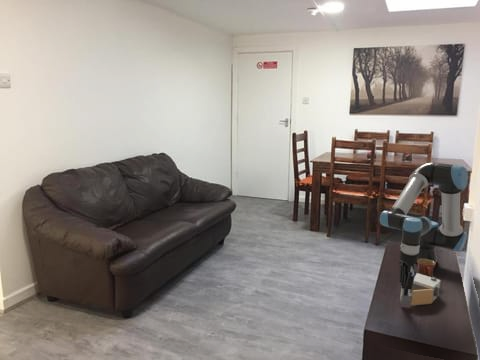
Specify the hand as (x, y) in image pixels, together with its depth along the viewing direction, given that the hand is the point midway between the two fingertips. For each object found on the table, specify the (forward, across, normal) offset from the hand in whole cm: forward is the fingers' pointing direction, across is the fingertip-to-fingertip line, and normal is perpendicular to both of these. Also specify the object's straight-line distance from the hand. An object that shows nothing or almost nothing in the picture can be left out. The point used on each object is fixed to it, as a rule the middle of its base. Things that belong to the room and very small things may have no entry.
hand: (403, 300), depth 181 cm
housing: (+2, -10, +14) cm, 17 cm away
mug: (+3, -25, +21) cm, 33 cm away
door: (+2, 0, +6) cm, 7 cm away
